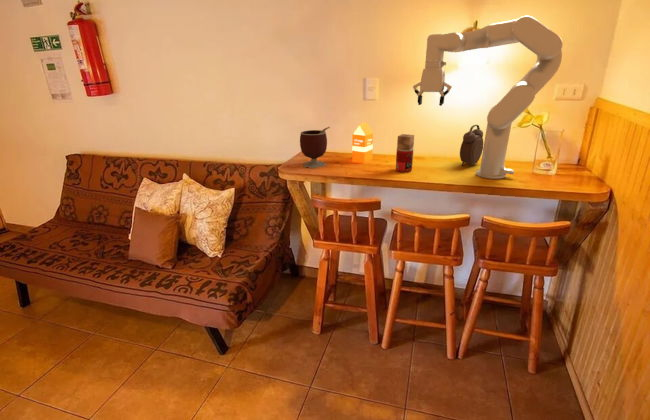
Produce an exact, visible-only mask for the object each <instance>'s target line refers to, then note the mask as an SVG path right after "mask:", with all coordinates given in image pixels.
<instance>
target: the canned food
mask: <svg viewBox="0 0 650 420" xmlns="http://www.w3.org/2000/svg"><path fill="white" fill-rule="evenodd" d="M395 157H396V158H395V171H397V172H399V173H411V172H412V170H413V162H414V147H413V148H412V149H410V150H403V149H397V148H396V156H395Z"/></svg>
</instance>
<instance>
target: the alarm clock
mask: <svg viewBox="0 0 650 420" xmlns="http://www.w3.org/2000/svg"><path fill="white" fill-rule="evenodd" d="M475 127H476V129H474V128H475ZM483 136H484V132H483V130H482V129H481V128H480V125H479V124H473V125H471V126H470V128H469V131H466V133H464V134H463V136H462V142H461V145H460V149H459V157H460V158H459V159H460V161H461V162H462V163H461V167H463V166H464V163H465V164H469V167H471V166H472V165H475V164H478V163H479V161H480V158H482V154H483V148H484V138H483Z"/></svg>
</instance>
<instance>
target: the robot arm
mask: <svg viewBox="0 0 650 420" xmlns="http://www.w3.org/2000/svg"><path fill="white" fill-rule="evenodd" d="M517 43H520V44H522V45H523V46H524V47H525V48H527V49H528V50H529V51H531V52H532V53H533V54H535V55H536V56H537V57H536V61H535V64H533V66H532V67H531V68H530V69H529V70H528V71H527V72H526V74H524V76H523V77H522V78H521V79H520V80H519V81H518V82H517V83H516V84H514V85H513V86H512V87H511V88H510V89H509V91H507V93H506V94H505V95H504V96H503V97H502V98H501V100H499V102H497V103H496V104H495V105H493V107H491V108H490V110H489V112H488V114H487V117H486V122H487V123H486V129H485V136H484V140H483V151H482V154H481V163H480V169H477V170H476V172H475V175H476V176H478V177H480V178H483V179H484V178H485V179H489V180H490V179H492V180H493V179H494V180H499V179H500V180H501V179H504V178H506V176H507V174H508V175H514V173H515V169H512V168H507V167H506V165H505V162H506V155H507V151H508V150H507V149H508V144H509V139H510V134H511V127H512V123H513V122H514V121H515V120H516V119H517V118H518V117H520V116H521V115H522V113H523V112H525V110H526V109H528V108H529V106H531V104H532V103H533V102H534V100H535V98H536V95H537V94H538V93H539V92H540V91H541V90H542V89H543V88H544V87H545V86H546V85H547V84H548V82H550V80H551V79H552V78H553V77H554V76H555V75H556V73H557V72H558V70H559V68H560V66H561V63H562V58H563V52H562V51H563V50H562V49H563V45H564V43H563V40H562V38H561V36H560V35H558V34H557V33H556V32H554V31H552V30H551V29H549V28H548V27H547V26H546V25H544V24H542V23H541V22H540V21H539V20H538V19H536V18H534V17H533V16H530V15H524V16H520V17H519V18H516V19H512V20H506V21H501V22H496V23H492V24H488V25H486V26H483V27H481V28H478V29H475V30H474V29H473V30H470V31H466V32H461V33H460V32H448V33H443V34H441V33H435V34H433V33H432V34H430V35H428V37H427V39H426V52H425V62H424V64H425V65H424V68H423V69H422V73H421V77H420V82H418V83H416V84H414V85H413V86H412V88H413V91H414V93H415V94H416V95H417V105H418V106H421V105H422V104H423V94H424V93H439V95H440V97H439V102H438V103H439V104H438V105H439V106H440V107H441V106H443V104H445V96H446V95H447V94H449V93H450V91H451V90H452V85H451V84H449V83H447V82H446V81H445V79H446V75H445V74H446V73H445V68H444V66H447V62H445V61H444V56H445V55H444V54H445V52H448V53H460V52H467V51H472V50H473V51H474V50H477V49H488V48H494V47H499V46H504V45H512V44H517ZM418 87H419V90H418ZM445 87H446V90H445ZM444 90H445V91H444Z"/></svg>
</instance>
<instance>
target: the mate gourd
mask: <svg viewBox="0 0 650 420" xmlns="http://www.w3.org/2000/svg"><path fill="white" fill-rule="evenodd" d="M328 129H330V126H328V127H325V128H323V129H321V130H320V129H310V130H303V131H301V132H300V136H299V147H300V150H301V151H300V152H301V153H302V154H303V156H305V157H307V158H309V159H311V160H308V161H305V162H303V163H302V167H303V166H304V167H303V168H306V167H309V168H308V169H318V168H317V167H321V168H323V166H324V167H325V165H326V166H327V162H325V161H322V160H318V158H320V157H323V156H324V154H325V153H326V152H327V148H328V138H327V132H326V130H328Z"/></svg>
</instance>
